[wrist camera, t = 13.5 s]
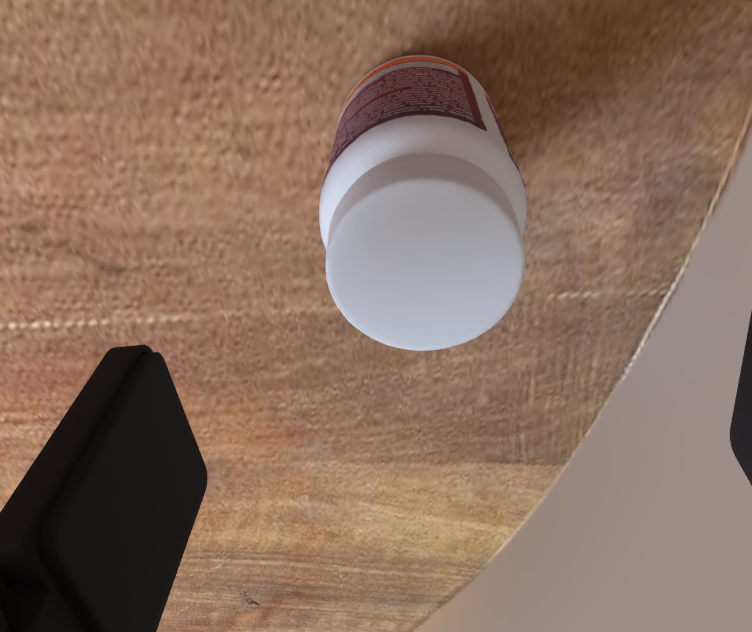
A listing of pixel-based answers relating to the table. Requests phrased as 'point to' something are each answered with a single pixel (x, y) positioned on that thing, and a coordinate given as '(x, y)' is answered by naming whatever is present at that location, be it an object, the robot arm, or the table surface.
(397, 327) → the pill bottle
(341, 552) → the table surface
